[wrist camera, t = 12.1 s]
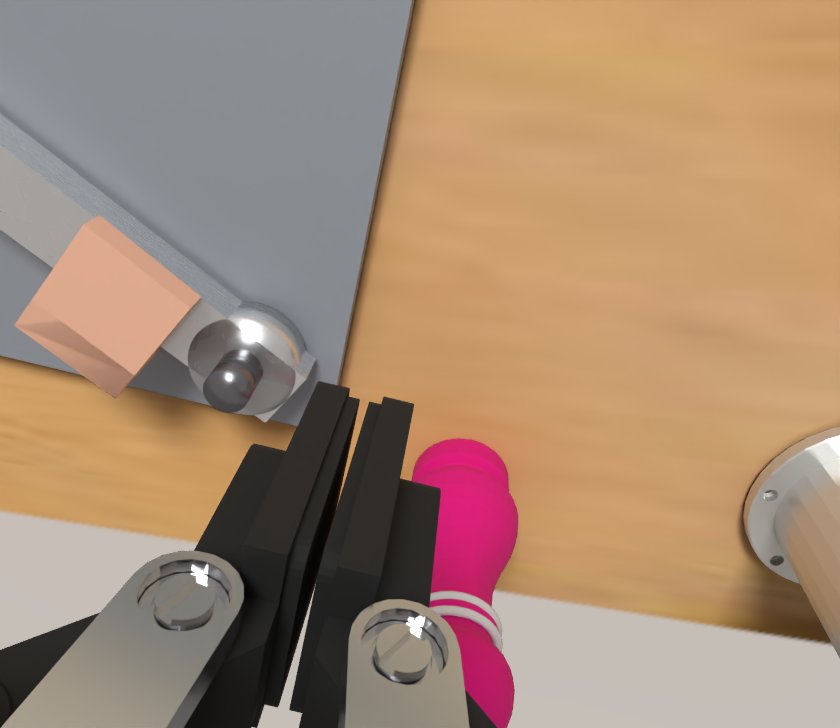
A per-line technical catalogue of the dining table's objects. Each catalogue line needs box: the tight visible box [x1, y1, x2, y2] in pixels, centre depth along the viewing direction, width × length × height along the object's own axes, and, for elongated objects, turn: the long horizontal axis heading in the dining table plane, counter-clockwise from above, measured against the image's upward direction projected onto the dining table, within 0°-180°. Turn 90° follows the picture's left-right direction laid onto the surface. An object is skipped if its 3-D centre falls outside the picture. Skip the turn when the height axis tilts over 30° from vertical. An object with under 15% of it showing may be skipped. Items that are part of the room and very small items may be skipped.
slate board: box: [0, 0, 415, 426], centre depth 36 cm, size 26×28×2 cm
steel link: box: [0, 113, 316, 423], centre depth 35 cm, size 24×6×5 cm, turn 49°
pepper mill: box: [412, 439, 518, 728], centre depth 36 cm, size 7×7×20 cm
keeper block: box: [14, 215, 201, 398], centre depth 37 cm, size 6×7×7 cm
